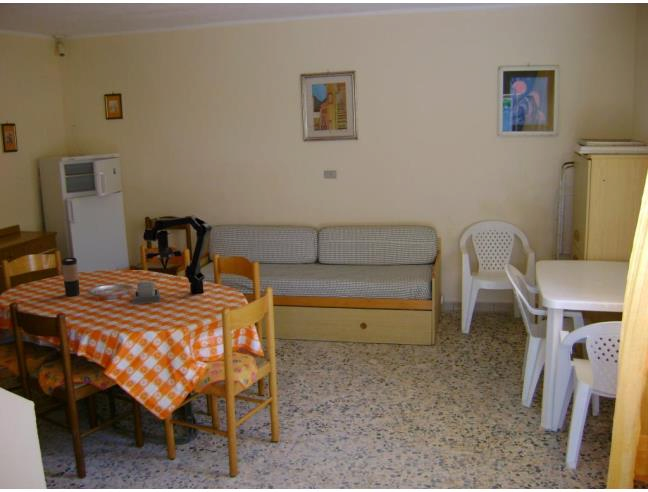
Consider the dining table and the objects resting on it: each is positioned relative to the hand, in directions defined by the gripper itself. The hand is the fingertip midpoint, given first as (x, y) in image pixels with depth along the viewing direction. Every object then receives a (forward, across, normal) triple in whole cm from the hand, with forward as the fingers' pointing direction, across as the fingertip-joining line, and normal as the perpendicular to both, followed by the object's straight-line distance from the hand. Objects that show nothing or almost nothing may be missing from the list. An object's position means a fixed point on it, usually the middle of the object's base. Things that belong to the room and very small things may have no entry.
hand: (164, 269), depth 366 cm
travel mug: (+12, -50, +8) cm, 52 cm away
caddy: (+12, -11, -14) cm, 21 cm away
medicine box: (+12, -11, -14) cm, 21 cm away
